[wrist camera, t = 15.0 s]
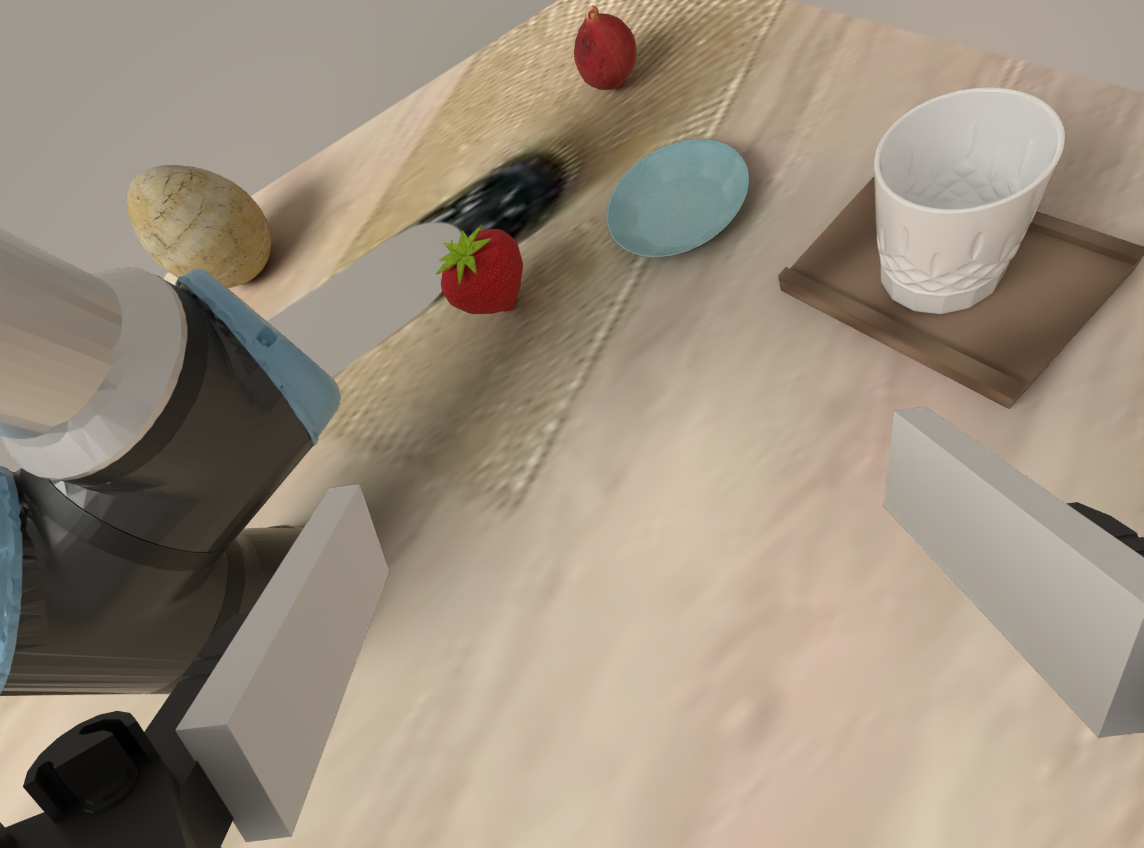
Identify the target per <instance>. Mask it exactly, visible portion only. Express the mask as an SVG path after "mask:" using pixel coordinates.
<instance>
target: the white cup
mask: <svg viewBox="0 0 1144 848" xmlns="http://www.w3.org/2000/svg"><path fill="white" fill-rule="evenodd" d="M1064 145H1065V130H1064V126H1063V123H1062V121H1061V119H1060V117H1059V116H1058V114H1057V113H1056V112H1055V111H1054V109H1053V108H1052V107H1050V106H1049V105H1048V104H1047V103H1045V102H1044V101H1042V100H1041V99H1039V98H1037V97H1035V96H1033V95H1031V94H1028V93H1025V92H1022V91H1018V90H1013V89H1007V88H997V87H981V88H970V89H964V90H959V91H954V92H950V93H947V94H944V95H941V96H938V97H935V98H933V99H930V100H928V101H926V102H924V103H922V104H920V105H918V106H916V107H914V108H913V109H911V110H910V111H908V112H907V113H905V114H904V115H903V116H901V117H900V118H899V119H898V120H897V121H896V122H894V123H893V124H892V125H891V127H890V128H889V129H888V130H887V131H886V133H885V134H884V135H883V137H882V139H881V140H880V142H879V144H878V147H877V149H876V153H875V158H874V177H875V209H876V216H875V217H876V228H877V244H878V251H879V255H880V262H881V283H882V284H883V286H884V287H885V289H886V291H887V292H888V294H889V295H890V297H891V298H892V299H893V300H894V301H896V302H898V303H900V304H902V305H903V306H905V307H907V308H909V309H911V310H913V311H917V312H926V313H934V314H945V313H949V312H954V311H959V310H963V309H968V308H970V307H972V306H974V305H975V304H977V303H978V302H980V301H981V300H983V299H985V298H986V297H988V296H989V295H991V294H992V293H993V292H994V290H995V289H996V287H997V285H998V284H999V282H1000V281H1001V279H1002V277H1003V276H1004V274H1005V272H1006V270H1007V268H1008V265H1009V263H1010V261H1011V260H1012V259H1013V257H1014V256H1015V254H1016V252H1017V250H1018V248H1019V246H1020V244H1021V242H1022V240H1023V238H1024V236H1025V234H1026V232H1027V229H1028V227H1029V225H1030V223H1031V222H1032V220H1033V218H1034V216H1035V213H1036V211H1037V209H1038V206H1039V204H1040V202H1041V200H1042V197H1043V195H1044V193H1045V191H1046V188H1047V186H1048V184H1049V181H1050V179H1051V177H1052V175H1053V173H1054V170H1055V168H1056V166H1057V164H1058V162H1059V159H1060V157H1061V155H1062V152H1063V149H1064Z"/></svg>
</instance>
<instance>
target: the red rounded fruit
mask: <svg viewBox="0 0 1144 848" xmlns="http://www.w3.org/2000/svg"><path fill="white" fill-rule="evenodd" d="M574 58H575V63H576V66H577V69H578V71H579V73H580V74H581V76H582V78H583V79H584V81H585V82H586V83H587V84H589V85H590V86H592V87H594V88H597V89H601V90H608V89H617V88H620V87H621V86H622V85H623V84H624V82H625V80H626V79H627V77H628V76H629V74H630V72H631V71H632V68H633V66H634V64H635V60H636V43H635V38H634V36H633V34H632V32H631V30H630V29H629V28H628V27H627V26H626V25H625V23H624V22H623V21H622V20H620V19H619V18H617V17H615V16H613V15H609V14H599V13H598V9H597V8H596V7H595V6H593V5H592V6H591V7H589V8H588V9H587V12H586V14H585V20H584V22H583V24H582V25H581V27H580V29H579V31H578V34H577V37H576V41H575V48H574Z"/></svg>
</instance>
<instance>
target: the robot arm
mask: <svg viewBox="0 0 1144 848" xmlns="http://www.w3.org/2000/svg"><path fill="white" fill-rule="evenodd" d="M340 399H341V394H340V390H339V387H338V385H337V383H336V382H335V381H334V380H333V379H332V378H331V377H330V376H329V375H328V374H327V373H326V372H325V371H324V370H322V368H320V367H319V366H318V365H317V364H316V363H315V362H314V361H312V360H311V359H310V358H309V357H308V356H307V355H306V354H304V353H303V352H302V351H301V350H300V349H299V348H297V347H296V346H295V345H294V344H293V343H292V342H290V341H289V340H288V339H287V338H286V337H285V336H283V335H282V334H281V333H280V332H279V331H278V330H276V329H275V328H274V327H273V326H272V325H271V324H269V323H268V322H267V321H266V320H265V319H263V318H262V317H261V316H260V315H259V314H257V313H256V312H255V311H254V310H253V309H252V308H250V307H249V306H248V305H247V304H246V303H245V302H243V301H242V300H241V299H240V298H239V297H237V296H236V295H235V294H234V293H233V292H231V291H230V290H229V289H228V288H227V287H225V286H224V285H223V284H222V283H221V282H219V281H218V280H217V279H216V278H214V277H213V276H212V275H210V274H209V273H208V272H207V271H205V270H203V269H193V270H191V271H189V272H188V273H187V274H186V275H182V276H179V277H178V280H177V282H176V285H173V284H171V283H169V282H167V281H166V280H164V279H162V278H161V277H159V276H157V275H155V274H152V273H150V272H148V271H145V270H142V269H139V268H130V267H128V268H116V269H111V270H106V271H103V272H99V273H95V274H89V273H87V272H85V271H83V270H81V269H79V268H77V267H75V266H73V265H72V264H69V263H67V262H66V261H64V260H62V259H60V258H58V257H56V256H54V255H52V254H50V253H48V252H46V251H44V250H42V249H40V248H38V247H36V246H34V245H32V244H31V243H29V242H27V241H25V240H23V239H21V238H19V237H17V236H14V235H13V234H11V233H9V232H7V231H5V230H3V229H1V228H0V436H1V438H2V440H3V442H4V444H5V446H6V448H7V450H8V452H9V453H10V455H11V456H12V458H13V459H14V461H15V462H16V463H17V464H18V465H19V466H20V467H21V469H19V470H18V471H16V472H11V471H9V469H7V468H5V467H3V466H0V696H27V695H106V694H170V695H169V697H168V698H167V700H166V701H165V703H164V704H163V706H162V707H161V708H160V710H159V711H158V713H157V714H156V716H155V717H154V719H153V720H152V722H151V723H150V724H149V726H148V727H147V729H146V730H145V732H144V731H143V730H142V728H141V727H140V725H139V724H138V722H137V721H136V719H135V718H134V717H133V716H132V715H131V713H127V712H121V711H115V712H110V713H105V714H101V715H98V716H95V717H93V718H91V719H89V720H87V721H84V722H82V723H80V724H78V725H77V726H75V727H74V728H72V729H71V730H69V731H68V732H66V733H64V734H63V735H61V736H60V737H58V738H57V739H56V740H55V741H54V742H53V743H52V744H51V745H50V746H49V747H47V748H46V749H45V750H44V751H43V752H42V753H41V754H40V755H39V756H38V758H37V759H36V760H35V762H34V763H33V765H32V766H31V767H30V769H29V770H28V772H27V775H26V778H25V782H24V785H23V787H24V789H25V790H26V791H27V792H28V793H29V794H30V796H31V797H32V798H33V799H34V800H35V801H36V803H37V804H38V805H39V806H40V807H41V809H42V810H43V811H44V812H43V813H41V814H38V815H36V816H33V817H31V818H28V819H26V820H23V821H21V822H18V823H16V824H13V825H11V826H8V827H4V826H3V825H2V824H1V823H0V848H221V845H222V843H223V840H224V838H225V836H226V834H227V832H228V830H229V828H230V825H231V823H232V821H233V822H234V824H235V825H236V827H237V829H238V830H239V832H240V833H241V835H242V836H243V838H244V840H245V841H246V842H251V841H259V840H268V839H276V838H284V837H292V834H293V831H294V829H295V826H296V823H297V821H298V818H299V815H300V812H301V810H302V807H303V804H304V802H305V799H306V796H307V793H308V791H309V788H310V785H311V783H312V780H313V777H314V775H315V772H316V769H317V766H318V764H319V761H320V758H321V756H322V753H323V750H324V747H325V745H326V742H327V739H328V737H329V734H330V731H331V729H332V726H333V723H334V720H335V718H336V715H337V712H338V710H339V707H340V704H341V701H342V699H343V696H344V693H345V691H346V688H347V685H348V683H349V680H350V677H351V674H352V672H353V669H354V666H355V664H356V661H357V658H358V655H359V653H360V650H361V647H362V645H363V642H364V639H365V637H366V634H367V631H368V628H369V626H370V623H371V620H372V618H373V615H374V612H375V609H376V607H377V604H378V601H379V599H380V596H381V593H382V591H383V588H384V585H385V582H386V580H387V577H388V574H389V569H388V566H387V563H386V560H385V557H384V554H383V551H382V549H381V546H380V543H379V540H378V537H377V534H376V531H375V528H374V525H373V522H372V519H371V516H370V513H369V510H368V507H367V504H366V502H365V499H364V496H363V493H362V490H361V487H360V484H356V485H349V486H341V487H334V488H329V489H328V491H327V492H326V494H325V495H324V497H323V498H322V500H321V502H320V503H319V505H318V506H317V508H316V509H315V511H314V513H313V514H312V516H311V517H310V519H309V521H308V522H307V524H306V525H305V527H304V528H301V527H297V526H290V525H281V526H273V527H268V528H247V529H244V528H245V526H246V525H247V524H248V523H249V522H250V520H251V519H252V518H253V517H254V516H255V515H256V513H257V512H258V511H259V510H260V509H261V507H262V506H263V505H264V504H265V503H266V501H267V500H268V499H269V498H270V497H271V495H272V494H273V493H274V492H275V491H276V490H277V488H278V487H279V486H280V485H281V484H282V482H283V481H284V480H285V479H286V478H287V476H288V475H289V474H290V473H291V472H292V470H293V469H294V468H295V467H296V466H297V465H298V463H299V462H300V461H301V460H302V459H303V457H304V456H305V455H306V454H307V453H308V451H309V450H310V449H311V448H312V447H313V446H315V445H316V444H317V442H318V437H319V435H320V434H321V432H322V431H323V430H324V428H325V427H326V425H327V424H328V422H329V421H330V420H331V418H332V417H333V415H334V414H335V412H336V411H337V410H338V407H339V405H340ZM883 506H884V508H885V509H886V510H887V511H888V512H889V513H890V514H891V515H892V516H893V517H894V518H895V519H896V521H897V522H898V523H899V524H900V525H901V526H902V527H903V528H904V529H905V530H906V531H907V532H908V533H909V535H910V536H911V537H912V538H913V539H914V540H915V541H916V542H917V543H918V544H919V545H920V546H921V547H922V549H923V550H924V551H925V552H926V553H927V554H928V555H929V556H930V557H931V558H932V559H933V560H934V561H935V563H936V564H937V565H938V566H939V567H940V568H941V569H942V570H943V571H944V572H945V573H946V574H947V575H948V577H949V578H950V579H951V580H952V581H953V582H954V583H955V584H956V585H957V586H958V587H959V588H960V589H961V591H962V592H963V593H964V594H965V595H966V596H967V597H968V598H969V599H970V600H971V601H972V602H973V603H974V605H975V606H976V607H977V608H978V609H979V610H980V611H981V612H982V613H983V614H984V615H985V616H986V617H987V619H988V620H989V621H990V622H991V623H992V624H993V625H994V626H995V627H996V628H997V629H998V630H999V631H1000V633H1001V634H1002V635H1003V636H1004V637H1005V638H1006V639H1007V640H1008V641H1009V642H1010V643H1011V644H1012V645H1013V647H1014V648H1015V649H1016V650H1017V651H1018V652H1019V653H1020V654H1021V655H1022V656H1023V657H1024V658H1025V659H1026V661H1027V662H1028V663H1029V664H1030V665H1031V666H1032V667H1033V668H1034V669H1035V670H1036V671H1037V672H1038V673H1039V675H1040V676H1041V677H1042V678H1043V679H1044V680H1045V681H1046V682H1047V683H1048V684H1049V685H1050V686H1051V688H1052V689H1053V690H1054V691H1055V692H1056V693H1057V694H1058V695H1059V696H1060V697H1061V698H1062V699H1063V700H1064V702H1065V703H1066V704H1067V705H1068V706H1069V707H1070V708H1071V709H1072V710H1073V711H1074V712H1075V713H1076V714H1077V716H1078V717H1079V718H1080V719H1081V720H1082V721H1083V722H1084V723H1085V724H1086V725H1087V726H1088V727H1089V728H1090V730H1091V731H1092V732H1093V733H1094V734H1095V735H1096V736H1097V737H1098V738H1100V737H1108V736H1116V735H1124V734H1133V733H1141V732H1144V537H1140V538H1139V537H1138V534H1137V533H1136V532H1134V531H1133V530H1131V529H1130V528H1128V527H1127V526H1125V525H1124V524H1122V523H1121V522H1119V521H1118V520H1116V519H1115V518H1113V517H1112V516H1110V515H1107V514H1105V513H1102V512H1100V511H1097V510H1095V509H1093V508H1090V507H1088V506H1085V505H1083V504H1080V503H1078V502H1075V503H1067V504H1066V503H1064V502H1063V501H1061V500H1060V499H1059V498H1057V497H1056V496H1054V495H1053V494H1051V493H1050V492H1048V491H1047V490H1046V489H1044V488H1043V487H1041V486H1040V485H1038V484H1037V483H1035V482H1034V481H1033V480H1031V479H1030V478H1028V477H1027V476H1025V475H1024V474H1022V473H1021V472H1020V471H1018V470H1017V469H1015V468H1014V467H1012V466H1011V465H1010V464H1008V463H1007V462H1005V461H1004V460H1002V459H1001V458H999V457H998V456H997V455H995V454H994V453H992V452H991V451H989V450H988V449H986V448H985V447H984V446H982V445H981V444H979V443H978V442H976V441H975V440H973V439H972V438H971V437H969V436H968V435H966V434H965V433H963V432H962V431H960V430H959V429H958V428H956V427H955V426H953V425H952V424H950V423H949V422H947V421H946V420H945V419H943V418H942V417H940V416H939V415H937V414H936V413H934V412H933V411H932V410H930V409H929V408H927V407H920V408H912V409H905V410H898V411H894V416H893V425H892V434H891V442H890V451H889V460H888V469H887V477H886V486H885V495H884V504H883Z"/></svg>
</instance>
